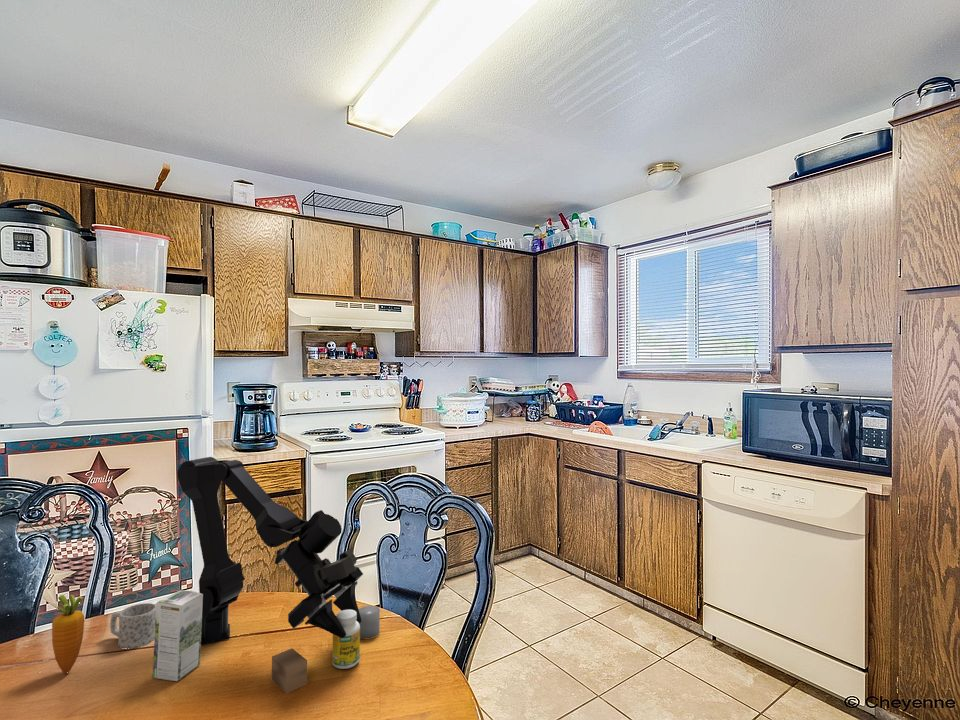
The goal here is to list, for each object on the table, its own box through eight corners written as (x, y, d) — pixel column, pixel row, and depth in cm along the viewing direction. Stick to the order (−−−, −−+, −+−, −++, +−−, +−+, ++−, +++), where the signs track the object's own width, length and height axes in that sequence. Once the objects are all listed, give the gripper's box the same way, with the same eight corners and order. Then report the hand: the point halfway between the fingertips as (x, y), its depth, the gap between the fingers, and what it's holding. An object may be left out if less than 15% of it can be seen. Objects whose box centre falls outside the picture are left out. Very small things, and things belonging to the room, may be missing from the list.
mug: (162, 634, 110) (163, 604, 110) (137, 651, 104) (138, 618, 104) (124, 630, 112) (125, 600, 112) (96, 646, 105) (97, 614, 106)
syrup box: (176, 661, 100) (178, 588, 100) (201, 665, 99) (203, 591, 99) (152, 678, 94) (154, 601, 95) (178, 682, 93) (180, 604, 94)
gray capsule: (354, 630, 113) (354, 608, 113) (375, 625, 115) (376, 603, 115) (359, 641, 108) (360, 618, 108) (382, 635, 111) (382, 613, 111)
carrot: (89, 668, 97) (91, 591, 98) (60, 683, 92) (63, 601, 93) (72, 663, 99) (74, 587, 99) (43, 677, 94) (46, 597, 95)
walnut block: (271, 680, 94) (272, 656, 94) (291, 671, 97) (292, 648, 97) (286, 694, 90) (286, 669, 90) (306, 684, 93) (307, 660, 93)
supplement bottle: (354, 651, 103) (355, 605, 104) (363, 664, 99) (364, 615, 99) (328, 659, 100) (329, 611, 101) (336, 673, 96) (337, 622, 96)
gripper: (302, 558, 93) (352, 628, 89) (356, 529, 110) (400, 586, 107) (266, 594, 95) (314, 664, 91) (325, 560, 113) (366, 617, 109)
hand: (352, 629), depth 99 cm, fingers closed on supplement bottle, 5 cm apart
